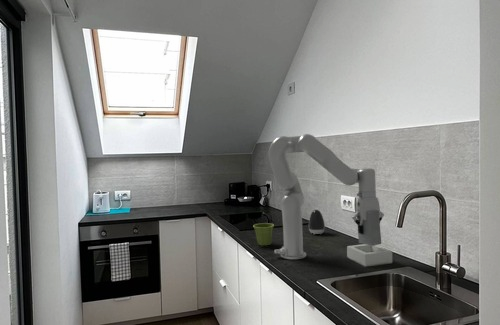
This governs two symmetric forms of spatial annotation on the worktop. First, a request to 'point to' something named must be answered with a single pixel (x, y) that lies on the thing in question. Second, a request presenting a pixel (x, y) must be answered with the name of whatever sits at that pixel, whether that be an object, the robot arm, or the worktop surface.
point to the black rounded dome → (316, 222)
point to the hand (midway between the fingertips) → (368, 232)
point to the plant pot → (264, 233)
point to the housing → (369, 255)
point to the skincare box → (371, 229)
